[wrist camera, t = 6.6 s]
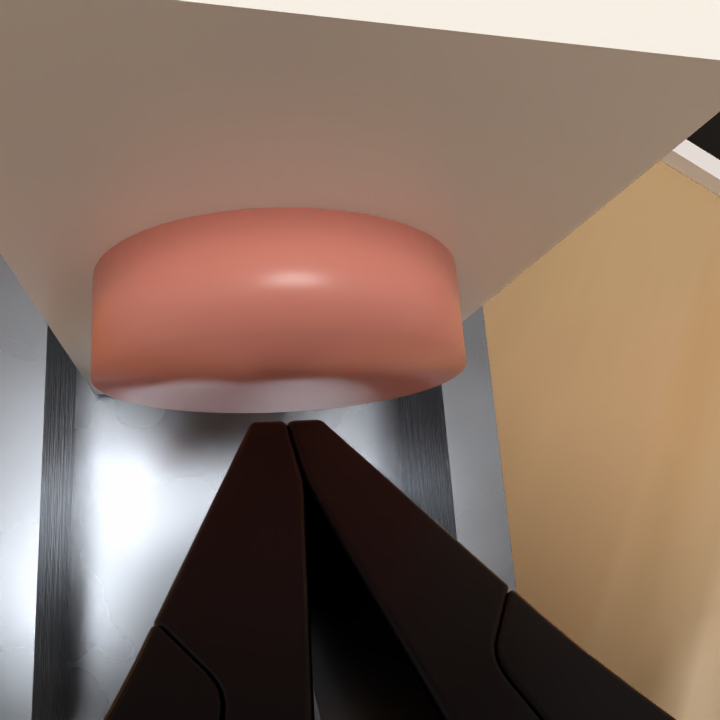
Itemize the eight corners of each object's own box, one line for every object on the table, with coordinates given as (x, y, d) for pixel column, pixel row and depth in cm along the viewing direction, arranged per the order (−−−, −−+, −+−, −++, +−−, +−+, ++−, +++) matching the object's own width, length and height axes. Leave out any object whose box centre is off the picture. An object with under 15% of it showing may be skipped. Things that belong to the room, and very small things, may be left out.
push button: (385, 441, 15) (812, 218, 5) (92, 453, 14) (-230, 170, 3) (368, 222, 16) (675, -337, 6) (98, 212, 15) (-120, -551, 4)
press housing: (458, 734, 15) (578, 821, 10) (9, 802, 13) (-95, 951, 8) (402, 144, 19) (473, 9, 14) (41, 120, 16) (-20, -50, 12)
